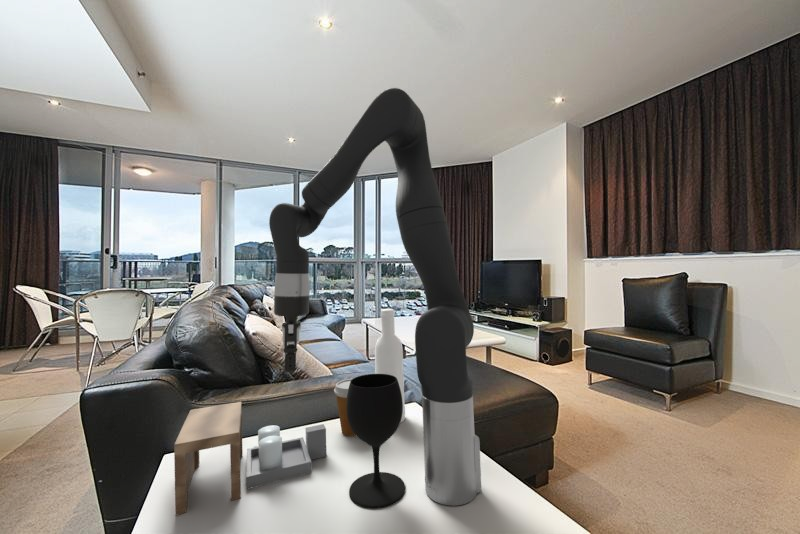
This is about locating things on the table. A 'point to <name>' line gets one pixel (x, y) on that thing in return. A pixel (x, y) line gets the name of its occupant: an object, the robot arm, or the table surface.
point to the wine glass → (375, 435)
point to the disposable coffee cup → (343, 405)
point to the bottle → (390, 352)
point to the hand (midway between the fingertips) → (290, 365)
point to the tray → (283, 455)
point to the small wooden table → (207, 446)
